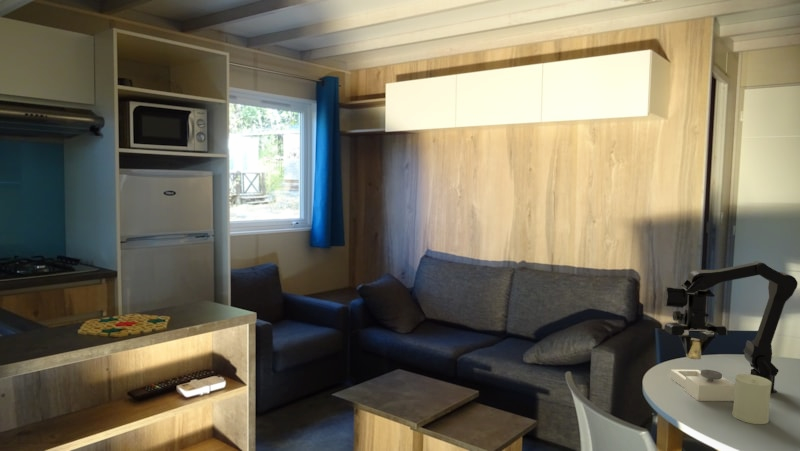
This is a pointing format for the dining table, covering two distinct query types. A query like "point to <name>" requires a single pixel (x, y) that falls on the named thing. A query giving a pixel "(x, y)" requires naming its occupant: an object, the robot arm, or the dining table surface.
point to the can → (751, 398)
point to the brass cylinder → (695, 349)
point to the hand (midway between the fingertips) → (693, 353)
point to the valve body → (704, 384)
